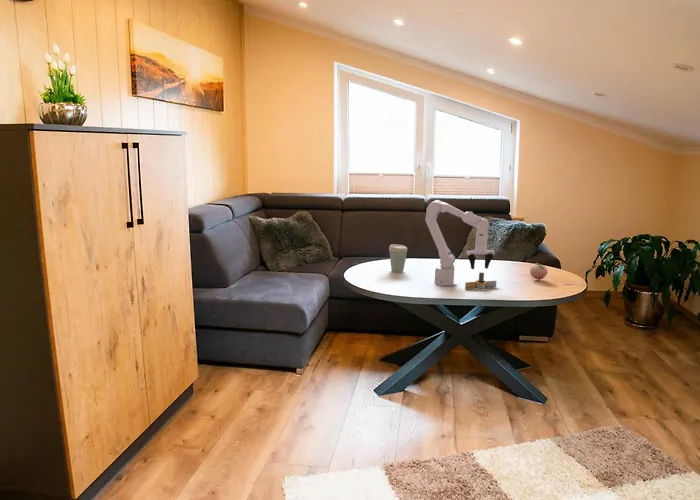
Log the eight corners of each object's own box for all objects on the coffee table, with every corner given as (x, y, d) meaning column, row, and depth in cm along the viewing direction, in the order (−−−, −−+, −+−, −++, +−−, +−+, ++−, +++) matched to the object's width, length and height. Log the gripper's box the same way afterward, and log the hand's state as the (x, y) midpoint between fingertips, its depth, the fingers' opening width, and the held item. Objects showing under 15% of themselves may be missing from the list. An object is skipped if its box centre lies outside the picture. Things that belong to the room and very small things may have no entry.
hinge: (467, 290, 278) (468, 283, 278) (463, 287, 284) (463, 280, 283) (498, 288, 282) (498, 282, 282) (493, 285, 288) (493, 279, 287)
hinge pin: (479, 288, 282) (480, 273, 280) (477, 287, 284) (478, 272, 282) (483, 288, 282) (484, 273, 281) (481, 287, 284) (482, 272, 283)
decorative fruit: (525, 278, 304) (527, 260, 302) (538, 277, 306) (539, 260, 304) (536, 283, 295) (537, 264, 293) (549, 282, 297) (550, 264, 295)
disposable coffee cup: (406, 269, 320) (407, 244, 316) (406, 274, 309) (407, 247, 306) (388, 268, 321) (389, 243, 317) (387, 273, 310) (388, 247, 307)
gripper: (471, 244, 275) (469, 270, 277) (498, 243, 278) (496, 269, 281) (465, 241, 281) (463, 267, 284) (491, 240, 285) (489, 266, 287)
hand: (479, 268), depth 283 cm, fingers open, 7 cm apart
